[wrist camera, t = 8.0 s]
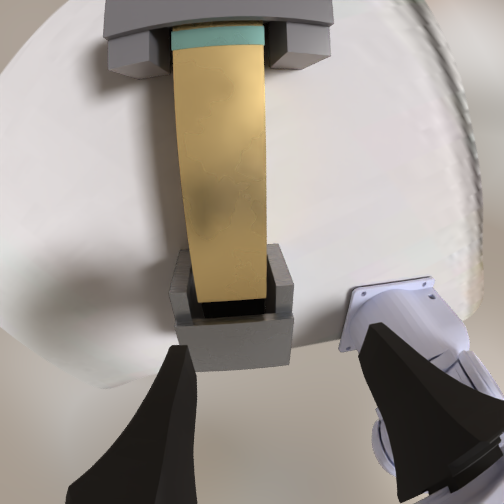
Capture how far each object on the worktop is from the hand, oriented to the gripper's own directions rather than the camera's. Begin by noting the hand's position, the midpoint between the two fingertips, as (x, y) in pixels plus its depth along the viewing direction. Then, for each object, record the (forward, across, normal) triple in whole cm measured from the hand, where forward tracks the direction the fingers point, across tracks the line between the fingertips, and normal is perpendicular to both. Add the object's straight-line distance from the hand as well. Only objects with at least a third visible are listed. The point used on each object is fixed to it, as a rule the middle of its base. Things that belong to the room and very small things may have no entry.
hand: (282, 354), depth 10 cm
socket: (+10, +2, -13) cm, 17 cm away
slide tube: (+10, +2, -6) cm, 12 cm away
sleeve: (+10, +2, +4) cm, 11 cm away
